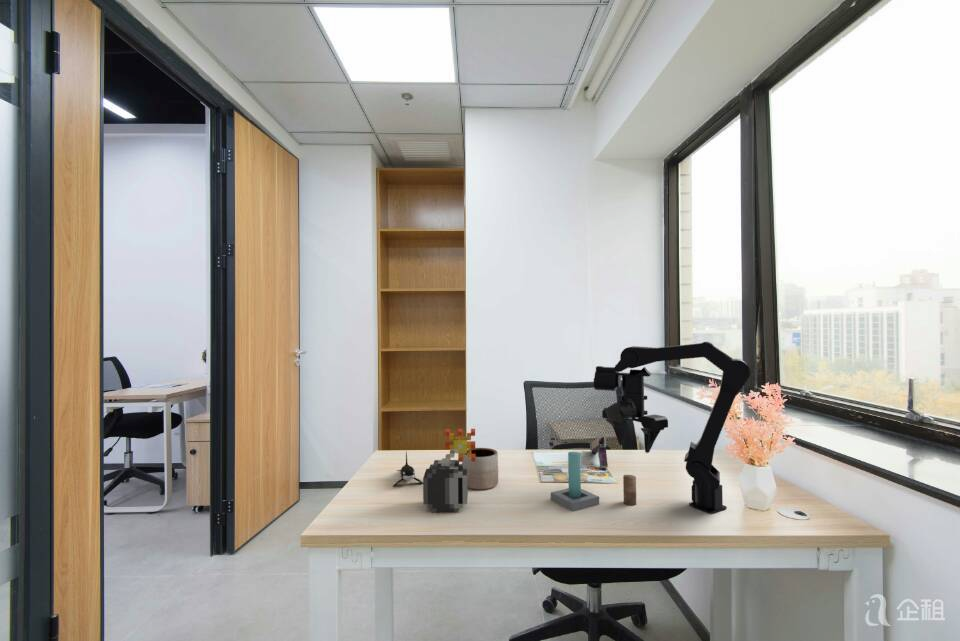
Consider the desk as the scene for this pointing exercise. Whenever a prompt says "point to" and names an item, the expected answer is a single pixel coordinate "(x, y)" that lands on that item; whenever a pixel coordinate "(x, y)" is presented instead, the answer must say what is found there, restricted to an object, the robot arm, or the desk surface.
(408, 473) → the toy
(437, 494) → the bomb
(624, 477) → the walnut pin
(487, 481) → the planter
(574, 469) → the teal pin
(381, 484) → the desk surface
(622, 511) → the desk surface
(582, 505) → the socket block
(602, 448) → the toy gun
